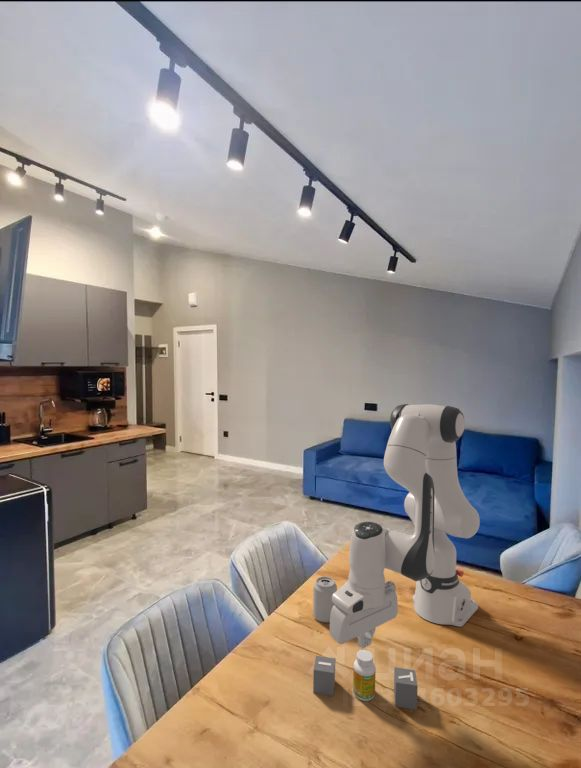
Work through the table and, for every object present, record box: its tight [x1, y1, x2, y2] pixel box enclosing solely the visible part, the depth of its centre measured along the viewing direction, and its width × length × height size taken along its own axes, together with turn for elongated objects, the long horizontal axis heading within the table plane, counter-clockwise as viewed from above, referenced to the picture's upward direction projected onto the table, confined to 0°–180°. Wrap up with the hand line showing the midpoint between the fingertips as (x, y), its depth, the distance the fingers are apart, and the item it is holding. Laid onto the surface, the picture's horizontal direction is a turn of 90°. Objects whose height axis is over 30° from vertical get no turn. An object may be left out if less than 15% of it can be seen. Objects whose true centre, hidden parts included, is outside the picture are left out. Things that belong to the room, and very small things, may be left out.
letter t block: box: [393, 666, 418, 711], centre depth 100 cm, size 5×5×6 cm
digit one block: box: [312, 655, 336, 697], centre depth 103 cm, size 5×5×6 cm
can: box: [312, 575, 338, 624], centre depth 132 cm, size 8×8×12 cm
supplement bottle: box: [352, 649, 377, 702], centre depth 102 cm, size 5×5×10 cm
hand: (364, 645), depth 101 cm, fingers closed
